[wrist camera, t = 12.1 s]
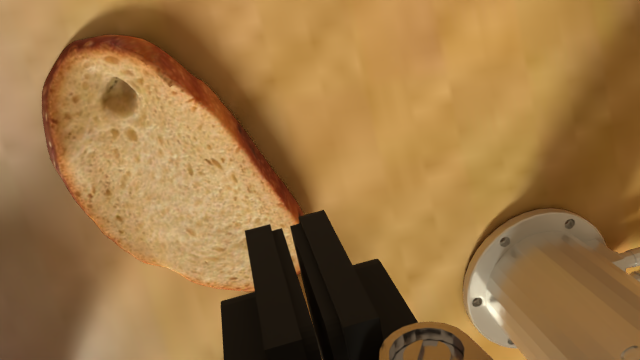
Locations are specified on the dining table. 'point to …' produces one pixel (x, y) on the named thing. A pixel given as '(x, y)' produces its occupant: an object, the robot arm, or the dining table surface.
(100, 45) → the bread slice
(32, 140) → the dining table surface
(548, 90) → the dining table surface
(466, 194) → the dining table surface
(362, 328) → the robot arm
